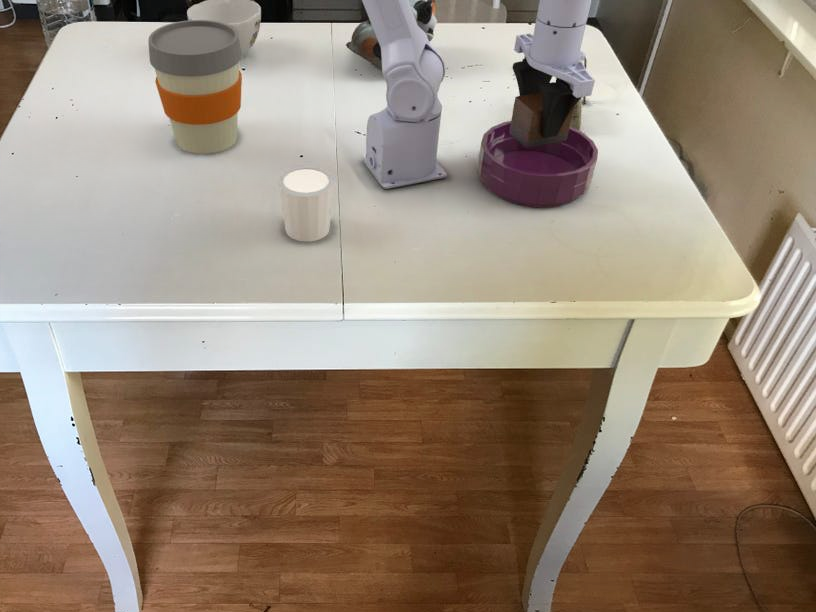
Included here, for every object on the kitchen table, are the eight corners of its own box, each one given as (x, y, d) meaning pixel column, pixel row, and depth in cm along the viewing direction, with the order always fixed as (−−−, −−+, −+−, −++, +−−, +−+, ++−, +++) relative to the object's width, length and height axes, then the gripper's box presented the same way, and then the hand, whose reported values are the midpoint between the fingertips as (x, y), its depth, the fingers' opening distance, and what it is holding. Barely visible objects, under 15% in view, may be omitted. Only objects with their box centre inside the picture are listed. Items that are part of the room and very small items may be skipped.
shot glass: (304, 207, 99) (303, 159, 94) (345, 226, 96) (346, 178, 91) (269, 230, 95) (265, 182, 90) (310, 251, 92) (308, 202, 87)
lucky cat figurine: (360, 43, 137) (400, -32, 129) (414, 80, 137) (457, 7, 129) (333, 49, 124) (376, -33, 117) (393, 90, 124) (439, 10, 117)
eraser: (526, 148, 96) (533, 111, 92) (508, 133, 99) (515, 96, 95) (566, 140, 97) (575, 104, 94) (548, 125, 100) (556, 89, 97)
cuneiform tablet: (584, 100, 121) (594, 135, 112) (555, 104, 122) (563, 139, 113) (585, 56, 116) (596, 90, 107) (555, 61, 117) (563, 94, 108)
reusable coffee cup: (252, 119, 116) (244, 19, 106) (245, 160, 107) (235, 55, 97) (171, 119, 116) (154, 19, 106) (157, 160, 107) (138, 55, 97)
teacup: (191, 44, 137) (185, -3, 131) (260, 39, 138) (257, -7, 133) (194, 79, 126) (188, 31, 121) (268, 74, 128) (265, 26, 122)
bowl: (510, 218, 97) (517, 184, 93) (458, 161, 107) (462, 129, 104) (611, 197, 101) (621, 163, 97) (551, 144, 111) (558, 112, 107)
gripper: (628, 37, 84) (598, 148, 93) (557, -7, 93) (537, 98, 103) (573, 45, 82) (548, 158, 91) (507, 0, 92) (491, 106, 101)
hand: (539, 127), depth 97 cm, fingers closed on eraser, 4 cm apart
